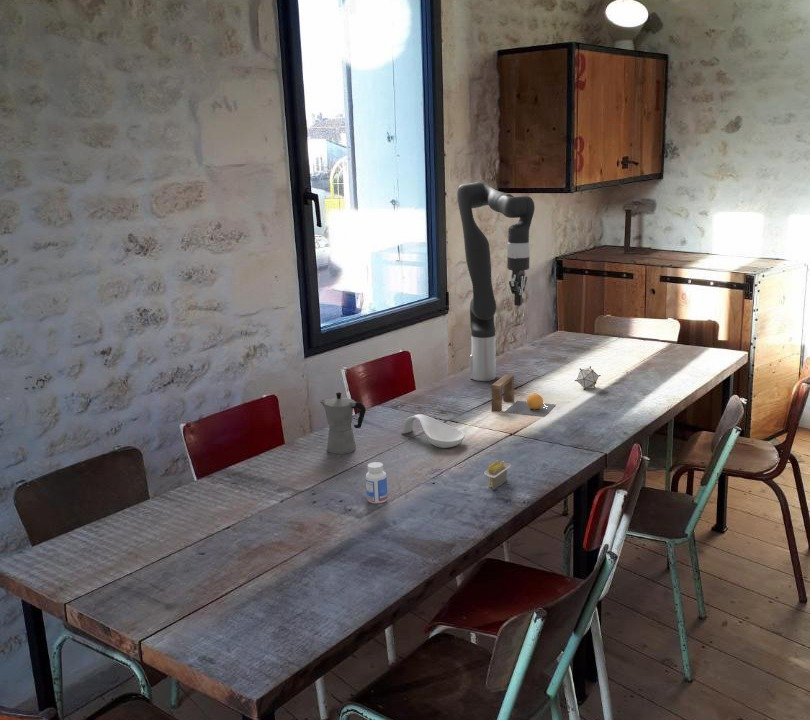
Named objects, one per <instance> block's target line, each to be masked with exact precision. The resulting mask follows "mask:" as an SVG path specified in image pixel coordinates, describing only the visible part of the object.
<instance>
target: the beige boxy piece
mask: <svg viewBox="0 0 810 720" xmlns="http://www.w3.org/2000/svg"><path fill="white" fill-rule="evenodd" d="M511 467H512V464H511V463H509V462H505V460H502V461H501V462H500V463H499V459H497V460H496V461H494V462H493V463H491V464H489V465H488V468H487V469H486V470H485V471H483V472H484V473H483V474H484V475H485V476H487V477H489V487H490V488H492V491H494V490H495V489H497V488H499V486H501V485H502V484H504V483H505V482H507V479H508V477H507V476H508V475H507V474H508V472H507V470H508V469H510V468H511Z"/></svg>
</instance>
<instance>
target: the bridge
mask: <svg viewBox="0 0 810 720" xmlns="http://www.w3.org/2000/svg"><path fill="white" fill-rule="evenodd" d="M514 385H515V375H514V374H506V373H505V374H504V375H503V376H502V377H501V378H499V379H498V380H497V381H494V383H492V384H491V412H497V413H500V412H502V411H503V402H511V403H512V402H514V399H515V386H514ZM502 393H503V394H502Z"/></svg>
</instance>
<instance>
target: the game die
mask: <svg viewBox="0 0 810 720" xmlns="http://www.w3.org/2000/svg"><path fill="white" fill-rule="evenodd" d="M601 376H602V375H601V374H597V373H596V371H594V369H592V367H591V365H590V366H589V368H581V367H580V368H579V373H578V376H577V377H576V379H574V382H577V383H579V385H581V387H582V386H583V388H584V389H583V390H584V391H586V389H589V388H594V389H596V385H597V381H598V379H599V377H601Z"/></svg>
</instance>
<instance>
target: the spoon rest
mask: <svg viewBox="0 0 810 720" xmlns="http://www.w3.org/2000/svg"><path fill="white" fill-rule="evenodd" d="M414 420H417V421H418V422H419V423H420V425H421V427H422V430H423V431H422V432H423V433H424V435H425V437H426V438H427V440H428V441H429V442H430V444H432V445H434V446H435V447H437V448H442V449H443V448H444V449H447V448H453V447H456V446H458V445H460V443H462V442H463V440H464V439H465V437H466V434H465V433H464V432H463V431H462V430H461V429H458V428H456V427H455V426H451V425H449V424H447V423H444V422H442V421H440V420H437V419H435V418H433V417H431V416H428V415H426V414H422V413H418V414H415V415H413V416H409V417H407V418H406V419H404V422H403V423H402V425H401V431H400V433H401V434H403V435H404V434H407V433H411V432H413V429H414Z"/></svg>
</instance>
